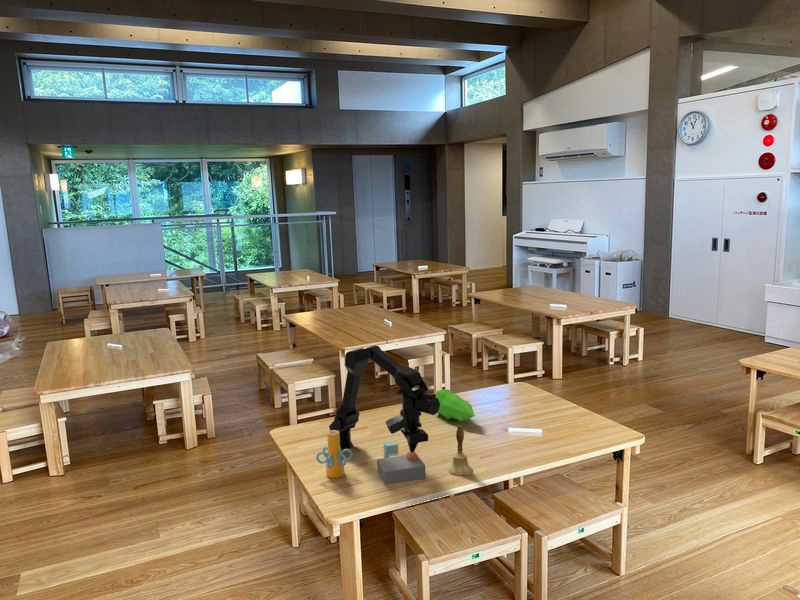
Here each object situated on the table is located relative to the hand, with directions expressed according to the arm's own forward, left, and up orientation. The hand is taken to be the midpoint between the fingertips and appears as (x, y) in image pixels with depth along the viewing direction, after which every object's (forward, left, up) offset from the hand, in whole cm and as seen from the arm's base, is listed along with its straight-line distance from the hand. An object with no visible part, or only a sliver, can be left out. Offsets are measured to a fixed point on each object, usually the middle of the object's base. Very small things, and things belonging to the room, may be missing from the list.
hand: (412, 452), depth 202 cm
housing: (+2, -5, -7) cm, 8 cm away
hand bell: (+5, +15, -7) cm, 18 cm away
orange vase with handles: (-6, -26, -7) cm, 27 cm away
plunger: (0, 0, -5) cm, 5 cm away
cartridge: (-4, -5, -7) cm, 9 cm away
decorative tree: (-40, +29, -7) cm, 50 cm away
